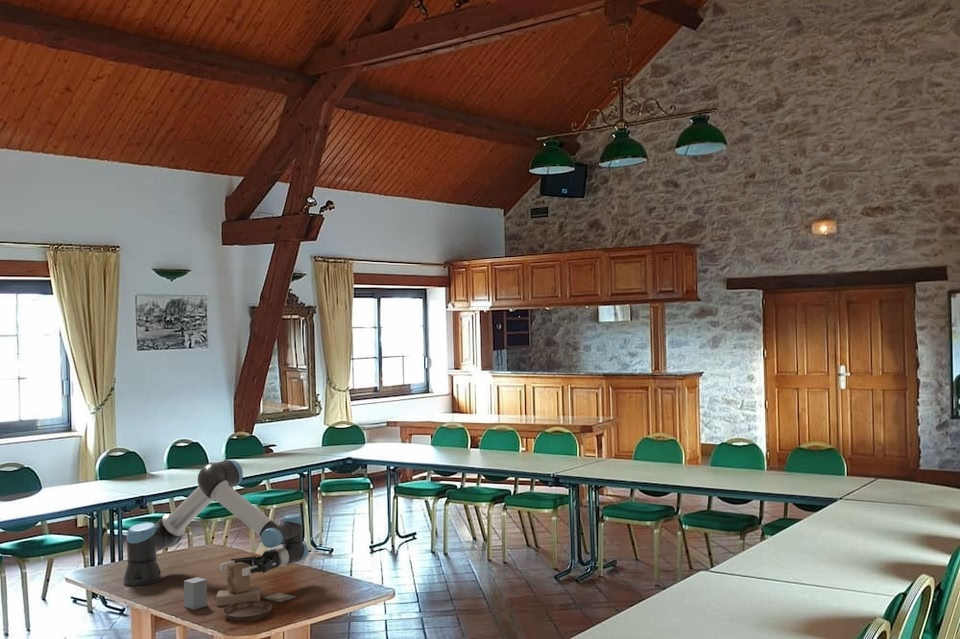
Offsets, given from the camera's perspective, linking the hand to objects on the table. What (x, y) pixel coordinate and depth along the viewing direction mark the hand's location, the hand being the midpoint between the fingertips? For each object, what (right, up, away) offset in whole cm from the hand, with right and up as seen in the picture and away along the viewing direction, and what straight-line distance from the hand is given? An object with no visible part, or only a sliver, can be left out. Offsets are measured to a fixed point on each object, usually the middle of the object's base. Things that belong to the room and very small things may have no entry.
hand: (231, 570), depth 354 cm
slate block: (-13, -13, -4) cm, 18 cm away
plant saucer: (+11, -13, -16) cm, 23 cm away
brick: (+2, -13, +2) cm, 13 cm away
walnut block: (+2, -8, +2) cm, 9 cm away
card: (+18, -12, +5) cm, 22 cm away
